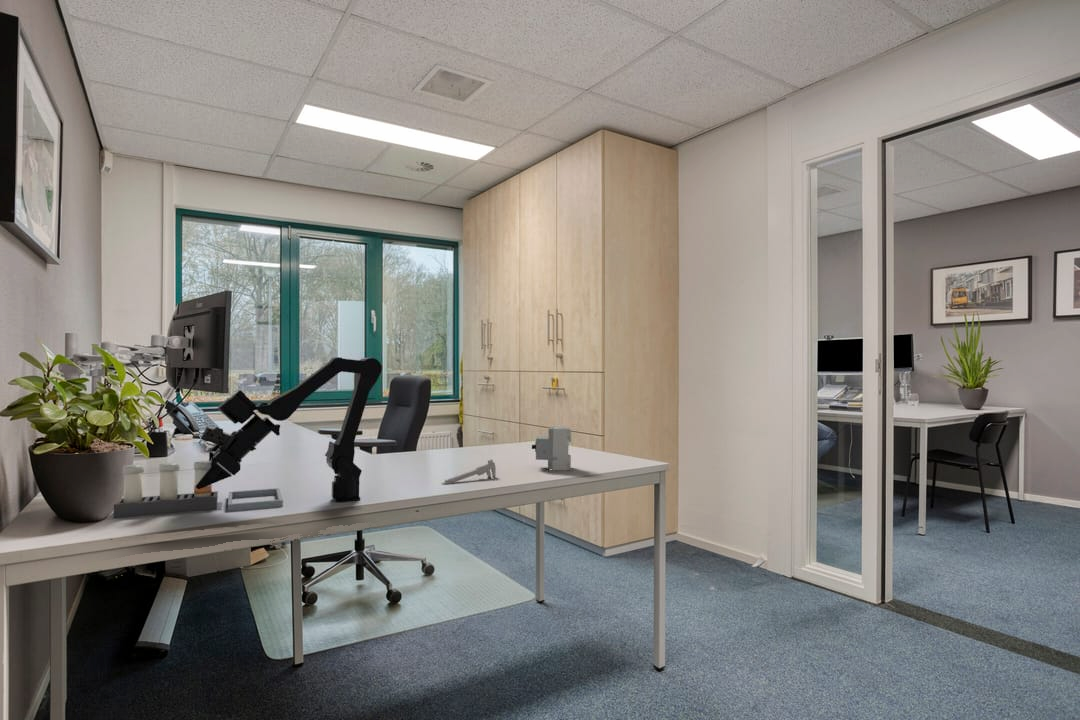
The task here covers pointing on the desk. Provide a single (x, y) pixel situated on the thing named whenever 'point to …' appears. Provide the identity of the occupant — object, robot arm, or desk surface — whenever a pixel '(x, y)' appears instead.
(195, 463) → the marked fuse
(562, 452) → the circuit breaker
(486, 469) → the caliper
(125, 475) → the fuse
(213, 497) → the grey slotted rack
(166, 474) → the block
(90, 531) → the desk surface
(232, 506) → the parts tray
